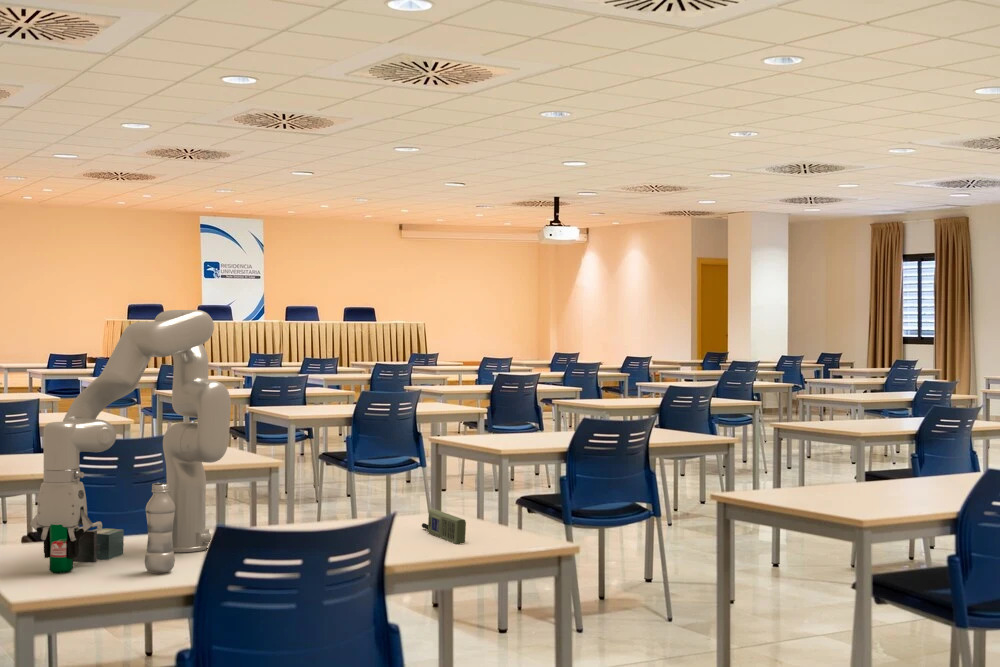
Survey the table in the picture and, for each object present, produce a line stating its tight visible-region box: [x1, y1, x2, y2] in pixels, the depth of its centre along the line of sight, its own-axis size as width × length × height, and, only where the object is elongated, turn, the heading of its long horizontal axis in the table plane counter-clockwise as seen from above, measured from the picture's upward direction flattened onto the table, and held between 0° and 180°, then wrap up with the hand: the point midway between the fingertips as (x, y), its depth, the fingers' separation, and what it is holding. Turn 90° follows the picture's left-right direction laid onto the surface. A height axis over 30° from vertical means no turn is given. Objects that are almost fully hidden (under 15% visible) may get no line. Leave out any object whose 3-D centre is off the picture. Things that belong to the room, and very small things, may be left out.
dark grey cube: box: [90, 528, 125, 561], centre depth 269 cm, size 7×7×6 cm
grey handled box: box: [73, 521, 103, 564], centre depth 263 cm, size 10×8×8 cm
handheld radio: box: [421, 508, 467, 545], centre depth 300 cm, size 7×3×25 cm
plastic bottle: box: [144, 482, 176, 574], centre depth 251 cm, size 6×7×20 cm
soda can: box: [48, 523, 74, 575], centre depth 251 cm, size 5×5×12 cm
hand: (61, 556), depth 251 cm, fingers closed on soda can, 5 cm apart
